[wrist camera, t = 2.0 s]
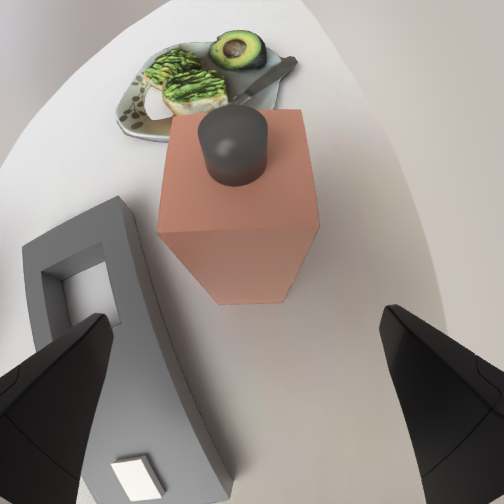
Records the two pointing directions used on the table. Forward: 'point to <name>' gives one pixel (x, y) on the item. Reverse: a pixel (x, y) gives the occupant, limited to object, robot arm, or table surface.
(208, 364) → the table surface
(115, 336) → the grey slotted holder
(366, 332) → the table surface
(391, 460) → the table surface
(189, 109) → the salad plate
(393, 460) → the table surface
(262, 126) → the pink capped bottle
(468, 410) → the robot arm
